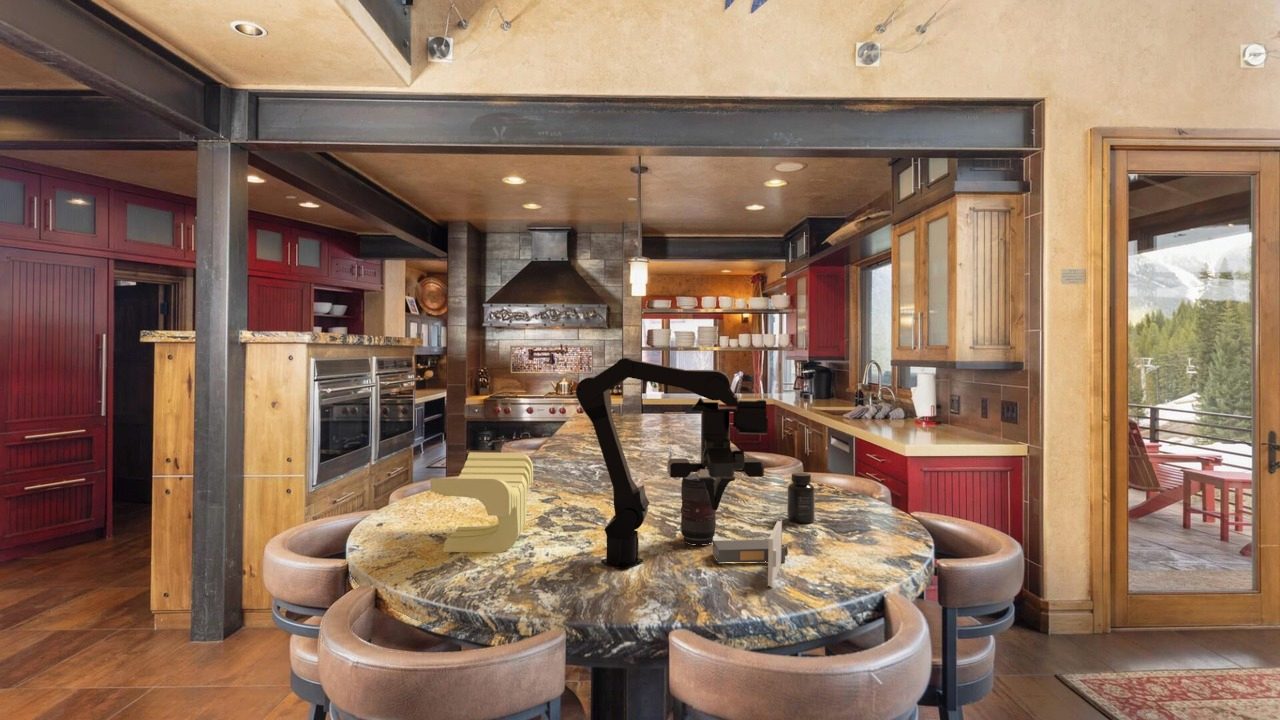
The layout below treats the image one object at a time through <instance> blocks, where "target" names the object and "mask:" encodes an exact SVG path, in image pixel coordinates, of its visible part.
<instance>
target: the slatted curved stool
mask: <svg viewBox="0 0 1280 720" xmlns="http://www.w3.org/2000/svg"><path fill="white" fill-rule="evenodd" d="M429 481H430V482H429V483H430V485H429V486H430V491H429V492H430V493H434V494H438V495H441V496H442V497H462V498H469V499H475V500H478V501H479V502H481V503H482V505H483V506H484V507H485V510H486V512H487V513H486V514H487V516H489V517H490V516H495V517H496V518H497V521H498V522H497V523H494V524H488V525H479V526H478V525H477V526H476V525H475V526H458V527H457V528H456V529H455V531H453V532H452V533H451V534H450V535H449V536H448V537H447V538H446V539H445V541H444V543H443V551H442V552H444V553H447V552H448V553H457V552H458V553H462V552H463V553H503V552H506V551H508V550H510V549H511V548H512V547H513V546H514V545H515V543H516V542H517V540H518V538H519V537H520V535H521V534H522V531H523V530H524V528H525V526H526V524H527V508H528V493H529V489H530V485H531V484H534V465H533V461H532V460H531V458H530V457H529V456H528V455H527V454H525V453H523V452H480V451H479V452H475V451H474V452H473V451H472V452H468V455H467V458H466V460H465V463H464V465H463V467H462V469H461V472H460V474H459V475H458V477H457V478H454V477H453V478H450V477H448V478H444V477H443V478H439V477H437V478H433V477H431V478H430V480H429Z"/></svg>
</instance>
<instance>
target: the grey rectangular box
mask: <svg viewBox="0 0 1280 720" xmlns="http://www.w3.org/2000/svg"><path fill="white" fill-rule="evenodd" d="M768 546H769V539H742V540H741V539H738V540H737V539H733V540H732V539H731V540H730V539H729V540H713V542H712V555H713V554H714V556H715V557H716V559H717V560H718V562H765V561H766V562H768ZM788 553H789V550H788V545H787V544H782V559H781V562H785V563H786V557H787V556H788ZM714 556H713V557H714ZM715 557H714V558H715ZM716 559H715V560H716ZM718 562H717V563H718Z"/></svg>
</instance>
